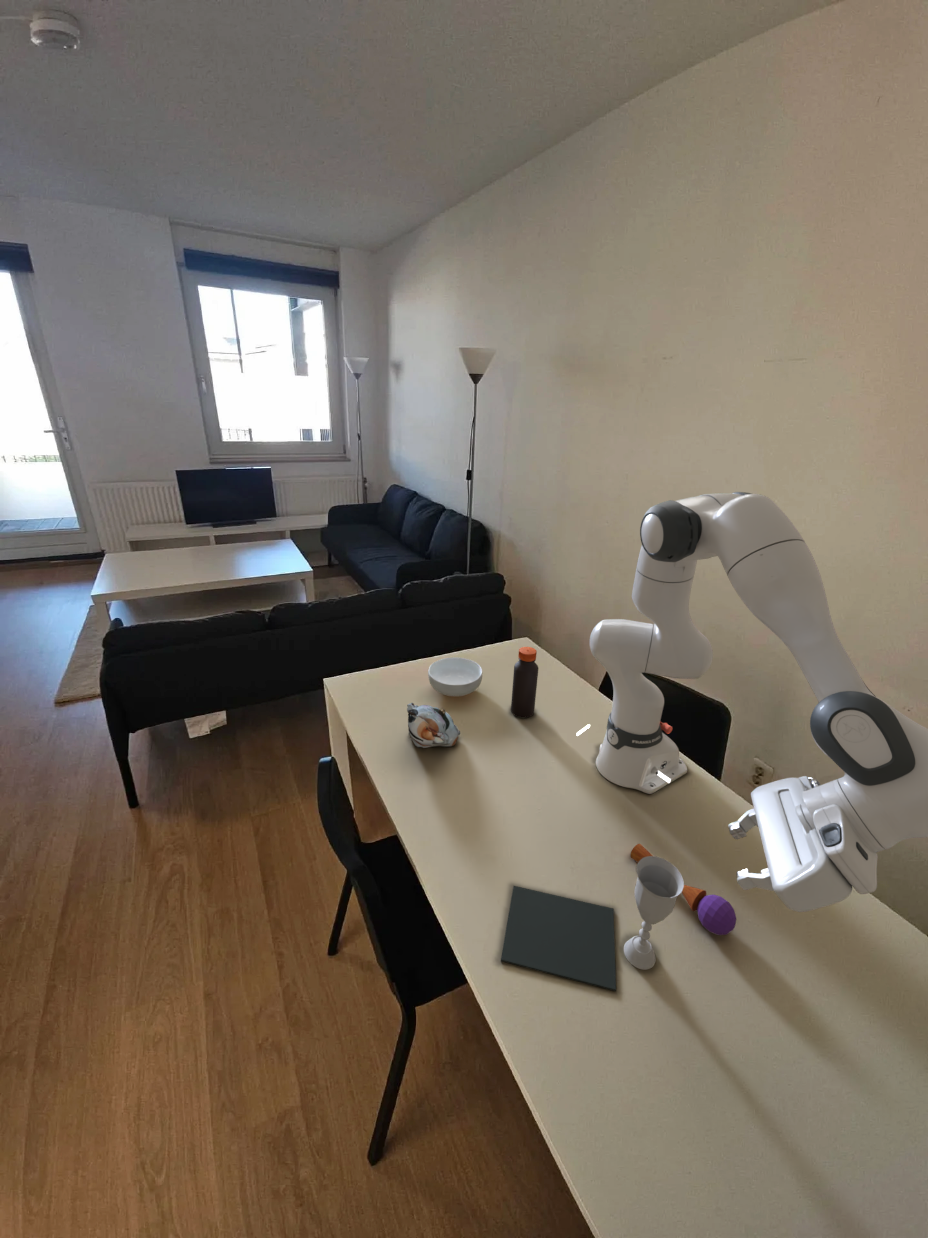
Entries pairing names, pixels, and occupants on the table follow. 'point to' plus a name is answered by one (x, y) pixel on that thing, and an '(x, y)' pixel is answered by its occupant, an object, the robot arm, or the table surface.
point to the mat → (561, 937)
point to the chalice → (652, 905)
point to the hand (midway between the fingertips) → (734, 855)
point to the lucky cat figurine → (431, 726)
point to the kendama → (702, 903)
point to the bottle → (524, 683)
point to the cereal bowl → (455, 676)
